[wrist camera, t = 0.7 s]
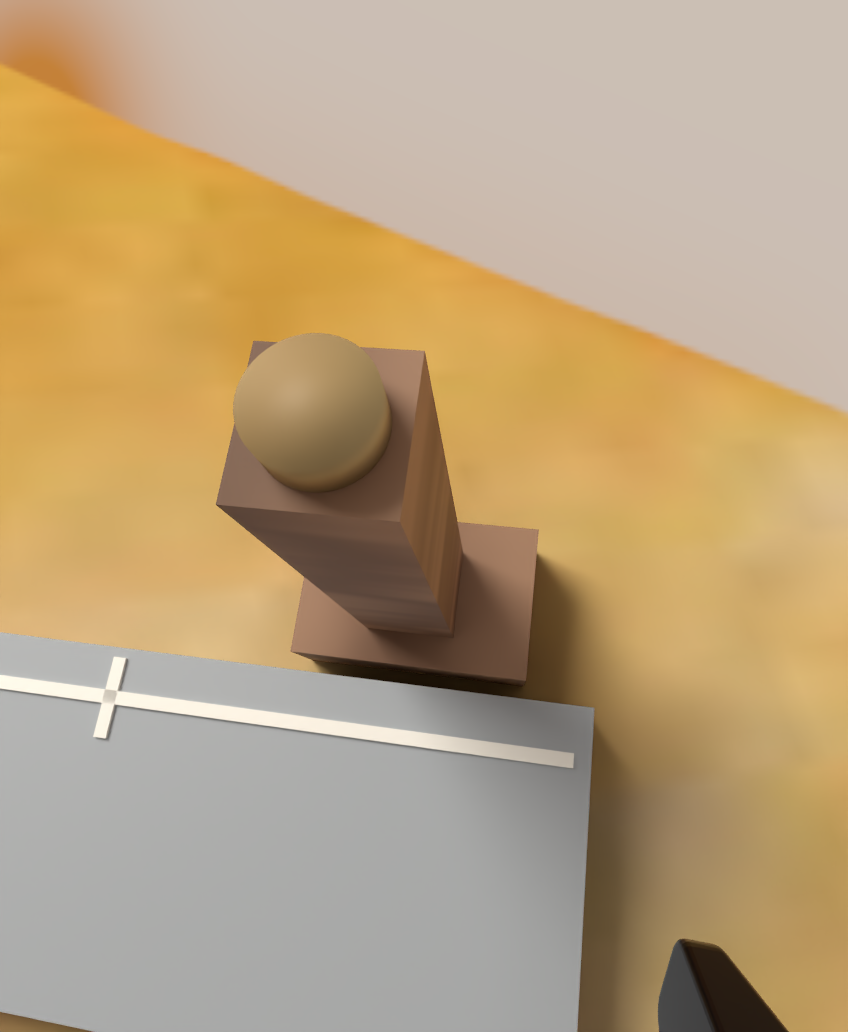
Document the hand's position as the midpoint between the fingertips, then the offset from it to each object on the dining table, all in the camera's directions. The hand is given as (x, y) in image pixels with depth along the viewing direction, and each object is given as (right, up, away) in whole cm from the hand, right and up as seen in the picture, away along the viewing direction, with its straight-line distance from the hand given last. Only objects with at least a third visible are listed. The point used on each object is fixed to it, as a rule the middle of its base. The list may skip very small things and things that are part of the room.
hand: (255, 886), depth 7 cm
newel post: (+2, +1, +15) cm, 16 cm away
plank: (-4, -6, +14) cm, 15 cm away
